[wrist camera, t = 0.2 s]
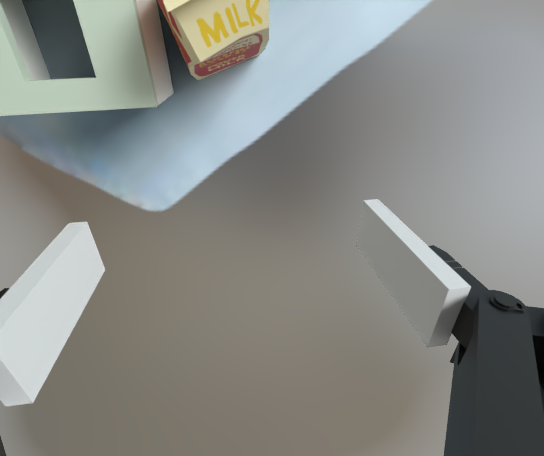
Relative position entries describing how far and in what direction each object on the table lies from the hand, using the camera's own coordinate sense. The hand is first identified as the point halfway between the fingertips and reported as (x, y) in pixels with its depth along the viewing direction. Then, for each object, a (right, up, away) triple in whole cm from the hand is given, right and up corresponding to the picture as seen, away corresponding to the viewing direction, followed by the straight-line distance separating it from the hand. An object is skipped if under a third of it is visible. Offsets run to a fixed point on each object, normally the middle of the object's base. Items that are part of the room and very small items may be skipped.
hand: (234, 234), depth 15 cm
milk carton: (-4, +23, +18) cm, 30 cm away
